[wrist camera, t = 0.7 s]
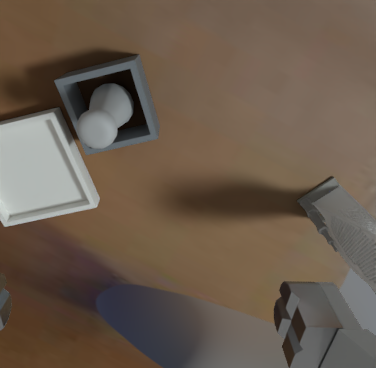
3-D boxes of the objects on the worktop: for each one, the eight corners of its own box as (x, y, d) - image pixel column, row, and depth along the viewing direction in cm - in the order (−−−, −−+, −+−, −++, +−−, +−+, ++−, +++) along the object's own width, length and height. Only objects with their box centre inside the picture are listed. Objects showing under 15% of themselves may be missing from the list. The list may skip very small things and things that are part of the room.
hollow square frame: (66, 72, 42) (53, 80, 38) (139, 54, 41) (134, 60, 37) (94, 141, 47) (86, 155, 43) (159, 126, 46) (157, 138, 42)
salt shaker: (110, 127, 46) (89, 166, 35) (86, 93, 44) (54, 124, 32) (143, 107, 45) (132, 142, 34) (120, 71, 42) (99, 95, 31)
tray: (-43, 131, 46) (-54, 138, 44) (59, 106, 45) (53, 112, 42) (11, 217, 54) (4, 226, 52) (100, 198, 52) (96, 207, 50)
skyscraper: (341, 171, 51) (488, 322, 27) (363, 201, 54) (513, 361, 30) (296, 200, 54) (394, 362, 29) (320, 228, 57) (426, 394, 33)
